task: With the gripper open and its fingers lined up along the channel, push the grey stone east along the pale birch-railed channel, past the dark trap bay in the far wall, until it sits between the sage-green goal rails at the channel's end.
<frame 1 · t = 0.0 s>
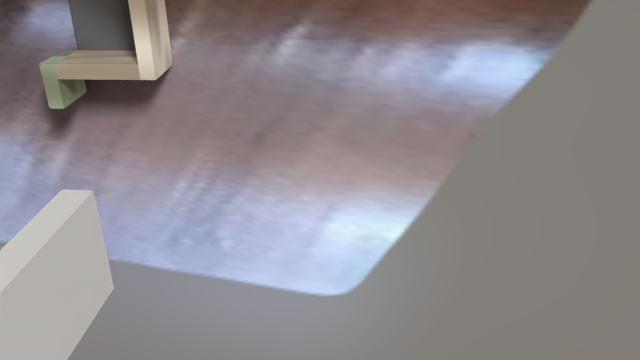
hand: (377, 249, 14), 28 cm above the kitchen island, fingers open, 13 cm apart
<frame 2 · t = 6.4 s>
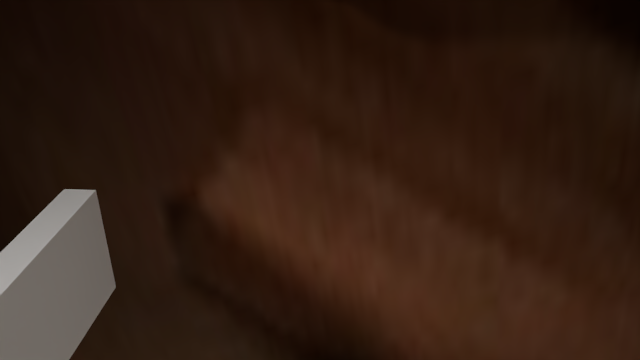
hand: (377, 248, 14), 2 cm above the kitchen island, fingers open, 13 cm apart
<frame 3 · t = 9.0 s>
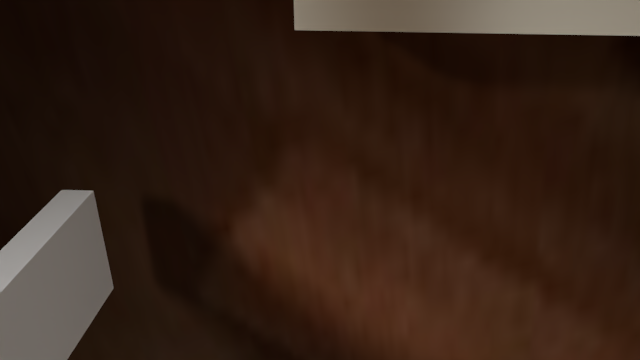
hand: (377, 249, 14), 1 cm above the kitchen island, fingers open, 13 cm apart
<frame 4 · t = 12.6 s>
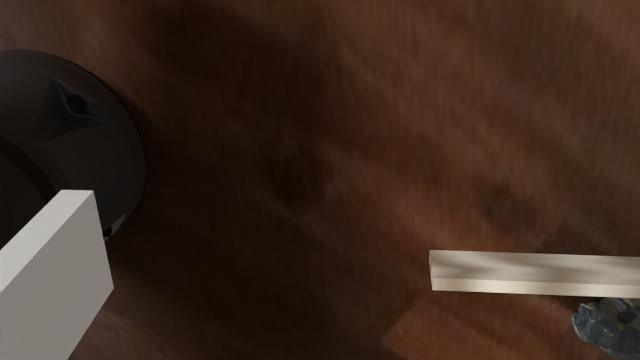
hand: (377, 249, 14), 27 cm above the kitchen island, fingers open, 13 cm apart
channel: (603, 330, 47), on the kitchen island
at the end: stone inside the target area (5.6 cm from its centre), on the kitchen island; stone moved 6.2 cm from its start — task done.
